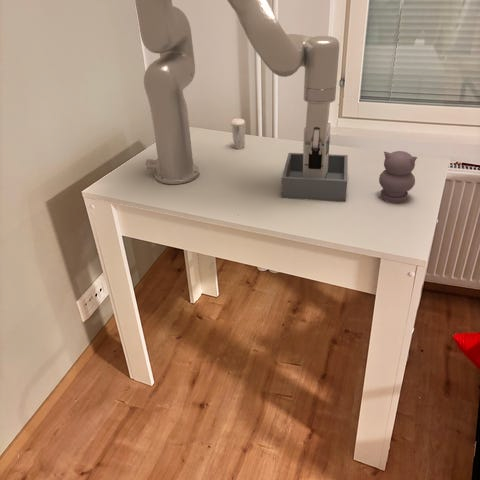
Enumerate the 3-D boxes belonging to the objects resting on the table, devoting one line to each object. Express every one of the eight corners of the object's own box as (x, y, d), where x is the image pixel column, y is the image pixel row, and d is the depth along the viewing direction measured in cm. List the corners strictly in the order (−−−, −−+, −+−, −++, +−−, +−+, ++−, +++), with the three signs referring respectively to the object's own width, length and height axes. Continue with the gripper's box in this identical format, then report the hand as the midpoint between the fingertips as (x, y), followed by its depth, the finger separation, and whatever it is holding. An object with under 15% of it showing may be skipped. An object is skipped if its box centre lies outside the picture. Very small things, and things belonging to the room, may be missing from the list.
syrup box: (323, 184, 121) (327, 130, 113) (301, 181, 122) (303, 128, 114) (327, 175, 125) (331, 122, 117) (306, 172, 127) (308, 120, 119)
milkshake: (243, 151, 146) (242, 120, 141) (229, 148, 149) (227, 117, 143) (251, 146, 149) (250, 115, 144) (237, 143, 152) (235, 113, 146)
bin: (281, 197, 120) (281, 177, 117) (288, 171, 133) (288, 152, 130) (345, 201, 117) (347, 181, 114) (345, 173, 130) (347, 155, 127)
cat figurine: (414, 193, 119) (422, 148, 113) (409, 207, 113) (417, 161, 107) (380, 187, 123) (386, 143, 116) (373, 200, 117) (379, 155, 110)
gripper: (306, 83, 119) (303, 149, 129) (300, 103, 105) (297, 176, 115) (336, 83, 118) (331, 150, 128) (334, 104, 104) (328, 178, 114)
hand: (315, 162), depth 121 cm, fingers closed on syrup box, 6 cm apart
